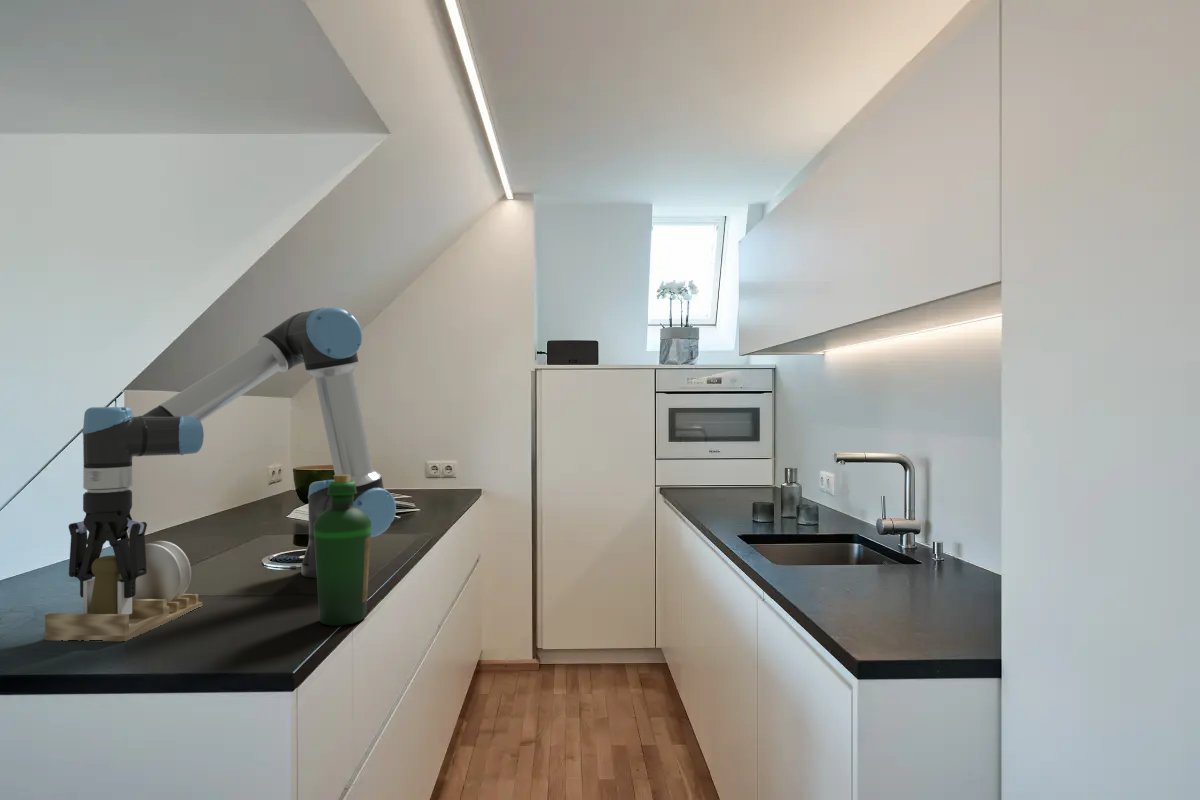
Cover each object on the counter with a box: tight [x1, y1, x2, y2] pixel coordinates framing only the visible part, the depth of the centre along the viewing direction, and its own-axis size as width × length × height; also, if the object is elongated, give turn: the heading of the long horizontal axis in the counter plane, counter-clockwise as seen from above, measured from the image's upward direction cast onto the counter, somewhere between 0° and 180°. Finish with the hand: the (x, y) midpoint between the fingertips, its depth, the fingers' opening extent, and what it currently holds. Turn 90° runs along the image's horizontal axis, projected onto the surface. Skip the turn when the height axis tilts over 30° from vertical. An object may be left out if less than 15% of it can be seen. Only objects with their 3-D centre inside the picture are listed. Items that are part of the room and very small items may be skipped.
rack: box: [44, 540, 204, 642], centre depth 138 cm, size 15×22×14 cm
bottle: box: [313, 474, 372, 627], centre depth 138 cm, size 11×11×28 cm
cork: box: [89, 555, 122, 614], centre depth 133 cm, size 6×6×11 cm
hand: (107, 614), depth 133 cm, fingers closed on cork, 6 cm apart
